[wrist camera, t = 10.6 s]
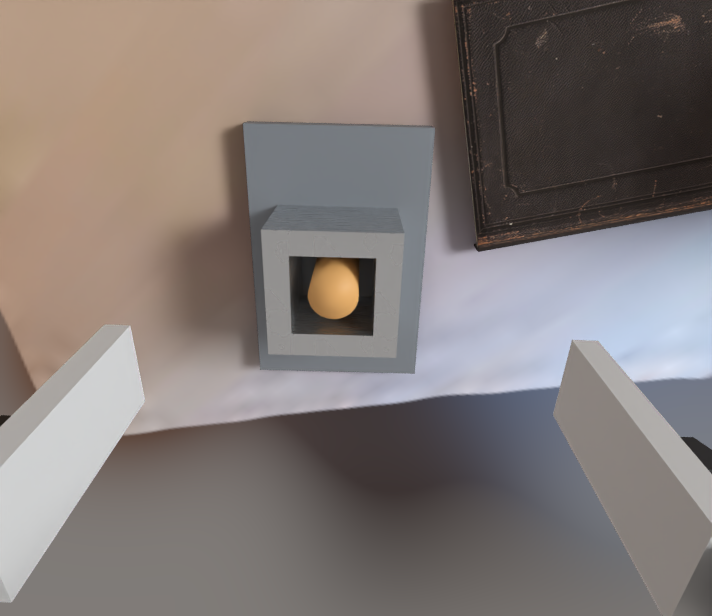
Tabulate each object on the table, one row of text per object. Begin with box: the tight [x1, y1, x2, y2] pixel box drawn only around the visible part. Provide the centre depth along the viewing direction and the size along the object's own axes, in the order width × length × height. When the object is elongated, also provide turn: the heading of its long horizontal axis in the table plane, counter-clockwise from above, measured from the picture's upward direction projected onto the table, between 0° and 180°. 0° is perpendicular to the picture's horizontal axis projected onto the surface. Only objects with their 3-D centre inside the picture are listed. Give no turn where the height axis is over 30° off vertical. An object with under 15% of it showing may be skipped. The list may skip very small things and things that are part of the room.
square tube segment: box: [261, 205, 405, 358], centre depth 32 cm, size 8×8×6 cm
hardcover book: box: [452, 0, 712, 252], centre depth 31 cm, size 16×23×2 cm
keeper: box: [243, 121, 435, 374], centre depth 32 cm, size 18×12×8 cm, turn 179°
